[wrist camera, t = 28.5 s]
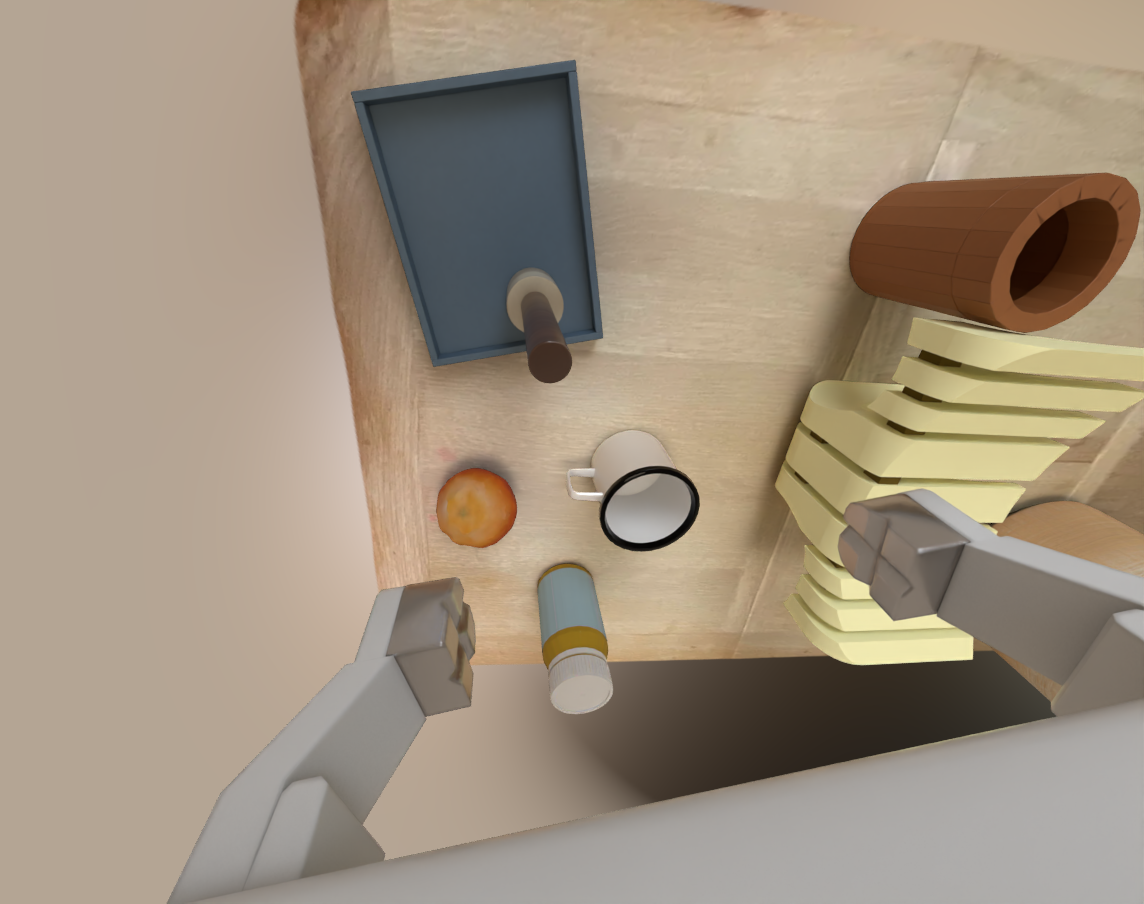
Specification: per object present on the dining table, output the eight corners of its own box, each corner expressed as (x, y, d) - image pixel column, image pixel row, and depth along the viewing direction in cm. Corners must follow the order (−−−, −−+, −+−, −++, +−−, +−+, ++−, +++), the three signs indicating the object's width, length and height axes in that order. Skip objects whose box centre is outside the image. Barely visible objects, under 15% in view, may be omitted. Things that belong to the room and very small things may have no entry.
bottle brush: (501, 271, 38) (496, 326, 21) (553, 263, 38) (588, 310, 21) (512, 324, 40) (515, 410, 23) (561, 316, 40) (598, 395, 23)
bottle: (568, 551, 54) (587, 661, 41) (603, 580, 57) (631, 691, 44) (525, 582, 56) (531, 698, 43) (561, 609, 59) (577, 725, 46)
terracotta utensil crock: (859, 191, 38) (1021, 186, 26) (963, 175, 39) (1169, 162, 27) (841, 303, 43) (972, 342, 31) (934, 287, 44) (1098, 320, 31)
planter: (1051, 595, 71) (1227, 722, 54) (918, 622, 70) (1054, 761, 53) (1116, 480, 60) (1364, 594, 43) (959, 511, 59) (1147, 640, 42)
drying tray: (359, 97, 31) (350, 91, 30) (571, 67, 32) (575, 59, 30) (436, 360, 41) (433, 367, 39) (599, 332, 42) (603, 338, 40)
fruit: (493, 546, 50) (459, 571, 43) (450, 491, 51) (409, 506, 43) (545, 504, 48) (520, 522, 41) (500, 447, 49) (467, 454, 41)
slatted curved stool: (828, 293, 43) (1010, 345, 27) (970, 307, 45) (1211, 361, 30) (739, 540, 57) (826, 666, 41) (851, 540, 59) (972, 659, 44)
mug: (678, 426, 48) (711, 470, 40) (660, 499, 52) (687, 552, 44) (566, 420, 46) (578, 466, 38) (557, 497, 50) (567, 552, 42)
